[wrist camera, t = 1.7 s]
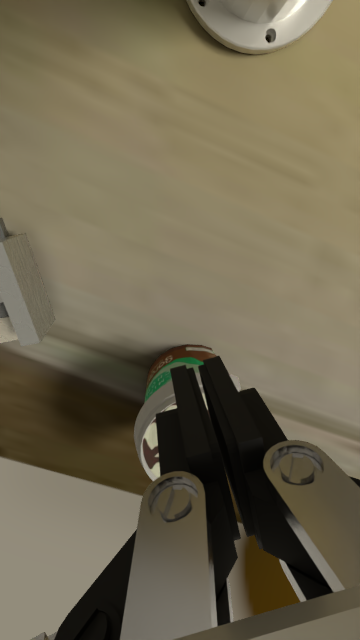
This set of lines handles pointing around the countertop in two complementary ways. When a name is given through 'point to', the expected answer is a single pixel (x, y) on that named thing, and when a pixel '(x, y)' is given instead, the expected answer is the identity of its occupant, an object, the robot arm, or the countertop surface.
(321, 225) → the countertop surface
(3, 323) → the gauge body
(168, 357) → the food container
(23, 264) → the grey boxy piece
